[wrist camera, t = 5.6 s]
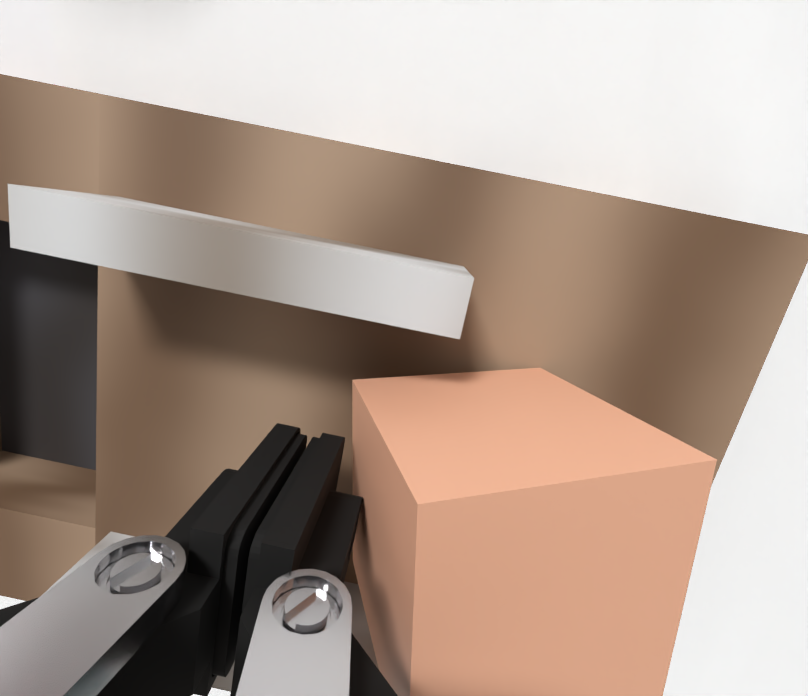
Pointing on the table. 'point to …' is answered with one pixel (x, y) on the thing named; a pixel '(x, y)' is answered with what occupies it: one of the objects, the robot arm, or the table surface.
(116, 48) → the table surface
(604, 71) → the table surface
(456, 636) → the block
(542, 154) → the table surface
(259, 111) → the table surface
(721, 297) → the board
